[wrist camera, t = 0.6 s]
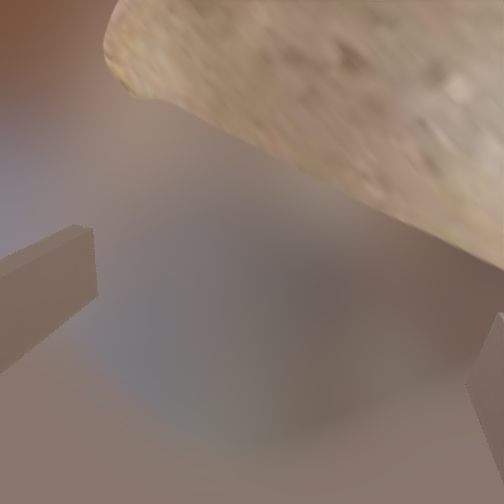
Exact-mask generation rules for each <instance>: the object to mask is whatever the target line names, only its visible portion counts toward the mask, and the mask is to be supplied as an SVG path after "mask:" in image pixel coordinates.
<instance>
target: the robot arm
mask: <svg viewBox="0 0 504 504" xmlns="http://www.w3.org/2000/svg"><path fill="white" fill-rule="evenodd" d="M97 296H98V292H97V279H96V265H95V249H94V234H93V228H88V227H83V226H78V225H72V226H70V227H68V228H65V229H63V230H61V231H59V232H57V233H55V234H53V235H51V236H49V237H47V238H45V239H42V240H40V241H38V242H36V243H34V244H32V245H30V246H28V247H26V248H24V249H21V250H19V251H17V252H15V253H13V254H11V255H9V256H7V257H5V258H3V259H1V260H0V374H1V373H3V372H4V371H5V370H6V369H8V368H9V367H10V366H11V365H13V364H14V363H15V362H16V361H18V360H19V359H20V358H21V357H23V356H24V355H25V354H26V353H28V352H29V351H30V350H31V349H32V348H34V347H35V346H36V345H38V344H39V343H40V342H41V341H43V340H44V339H45V338H46V337H48V336H49V335H50V334H51V333H52V332H54V331H55V330H56V329H58V328H59V327H60V326H61V325H62V324H64V323H65V322H66V321H67V320H69V319H70V318H71V317H72V316H74V315H75V314H76V313H77V312H78V311H80V310H81V309H82V308H84V307H85V306H86V305H87V304H89V303H90V302H91V301H92V300H94V299H95V298H96V297H97ZM465 385H466V387H467V390H468V393H469V395H470V397H471V400H472V403H473V406H474V408H475V411H476V413H477V416H478V418H479V421H480V424H481V426H482V429H483V431H484V434H485V436H486V439H487V442H488V444H489V447H490V449H491V452H492V454H493V457H494V460H495V462H496V465H497V467H498V470H499V472H500V475H501V477H502V480H503V483H504V313H500V312H498V313H497V315H496V318H495V320H494V322H493V325H492V327H491V329H490V331H489V333H488V335H487V338H486V340H485V342H484V344H483V347H482V349H481V351H480V353H479V355H478V358H477V360H476V362H475V365H474V367H473V369H472V371H471V373H470V376H469V378H468V380H467V382H466V384H465Z"/></svg>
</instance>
